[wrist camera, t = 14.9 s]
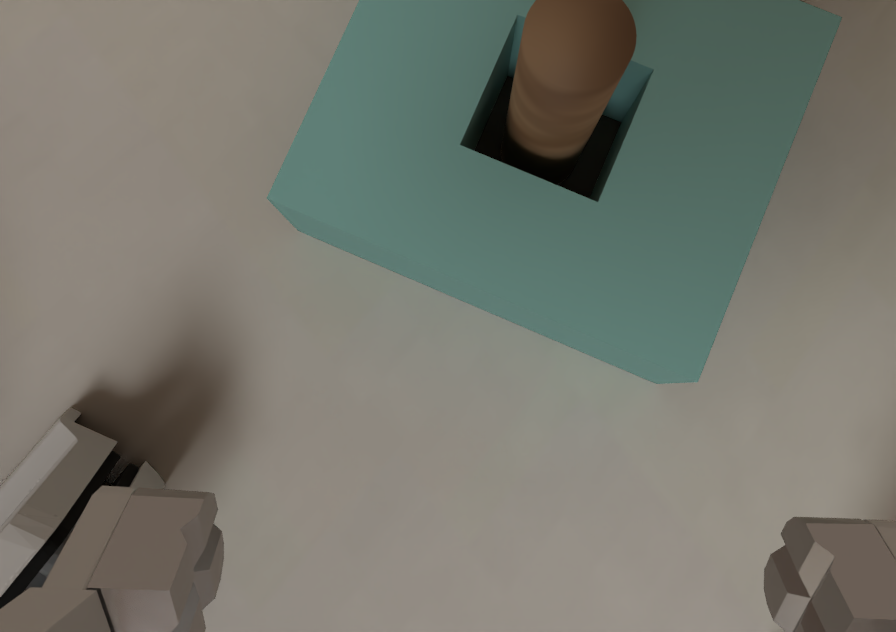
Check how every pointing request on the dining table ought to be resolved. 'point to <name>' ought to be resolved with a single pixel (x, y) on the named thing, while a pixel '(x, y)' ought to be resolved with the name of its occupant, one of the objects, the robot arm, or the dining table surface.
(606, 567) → the dining table surface
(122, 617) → the robot arm
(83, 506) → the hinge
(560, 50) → the tall walnut pin
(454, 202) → the hole block
